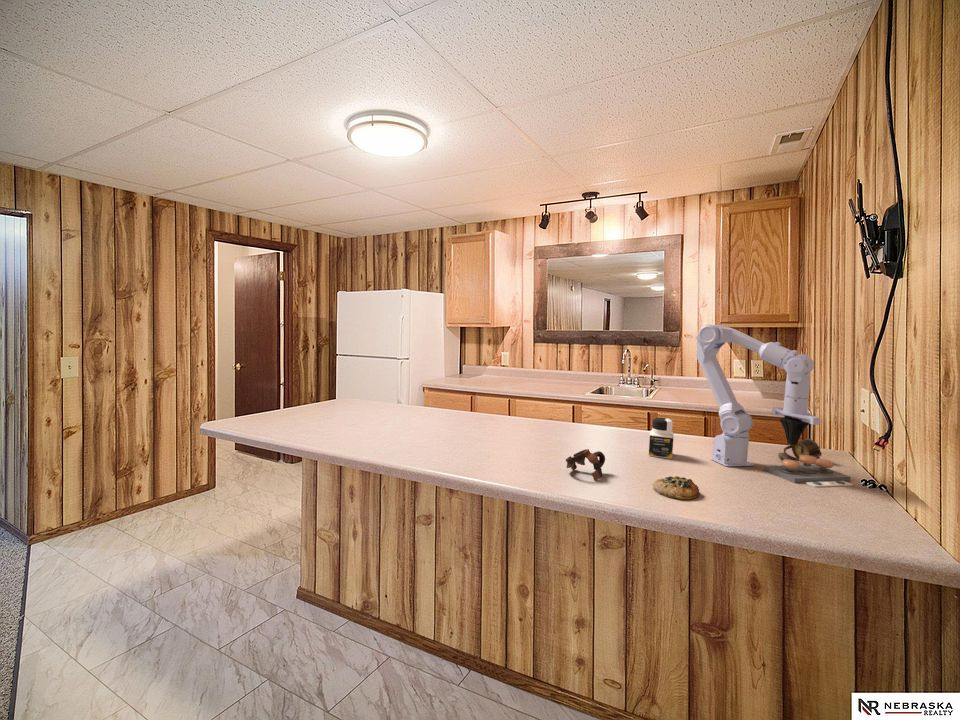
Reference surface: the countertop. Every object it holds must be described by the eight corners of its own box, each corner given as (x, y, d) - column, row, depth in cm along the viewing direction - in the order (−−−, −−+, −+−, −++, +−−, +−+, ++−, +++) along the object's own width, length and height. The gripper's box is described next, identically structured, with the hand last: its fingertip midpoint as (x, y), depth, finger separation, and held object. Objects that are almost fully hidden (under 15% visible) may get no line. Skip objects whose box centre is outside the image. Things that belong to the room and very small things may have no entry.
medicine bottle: (648, 456, 154) (650, 419, 153) (649, 450, 160) (651, 415, 159) (672, 459, 151) (674, 422, 150) (672, 453, 158) (674, 417, 156)
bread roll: (694, 486, 126) (695, 469, 125) (703, 508, 116) (704, 489, 115) (650, 484, 129) (650, 466, 128) (655, 504, 118) (655, 486, 117)
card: (814, 487, 129) (814, 485, 128) (805, 483, 131) (805, 481, 131) (852, 485, 130) (852, 483, 130) (842, 481, 133) (842, 480, 133)
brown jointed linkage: (590, 485, 126) (576, 457, 128) (569, 490, 134) (556, 463, 136) (619, 467, 133) (605, 440, 134) (597, 472, 141) (584, 447, 142)
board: (794, 482, 131) (794, 477, 131) (764, 470, 142) (764, 465, 142) (850, 480, 134) (850, 475, 134) (816, 468, 145) (817, 463, 145)
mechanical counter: (833, 450, 147) (814, 435, 156) (790, 444, 147) (774, 430, 157) (825, 470, 149) (807, 455, 158) (783, 465, 150) (768, 449, 159)
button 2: (823, 471, 137) (824, 462, 137) (811, 467, 141) (812, 458, 140) (835, 471, 137) (836, 462, 137) (823, 466, 141) (823, 458, 141)
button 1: (789, 472, 135) (790, 463, 135) (778, 468, 139) (779, 459, 139) (801, 472, 136) (802, 463, 135) (790, 467, 140) (791, 459, 139)
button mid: (806, 467, 136) (807, 459, 136) (795, 463, 140) (796, 454, 139) (819, 467, 136) (819, 458, 136) (807, 463, 140) (808, 454, 140)
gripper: (831, 401, 129) (826, 450, 130) (788, 392, 143) (784, 437, 144) (808, 401, 128) (803, 451, 129) (767, 392, 142) (763, 437, 143)
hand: (792, 443), depth 137 cm, fingers closed
